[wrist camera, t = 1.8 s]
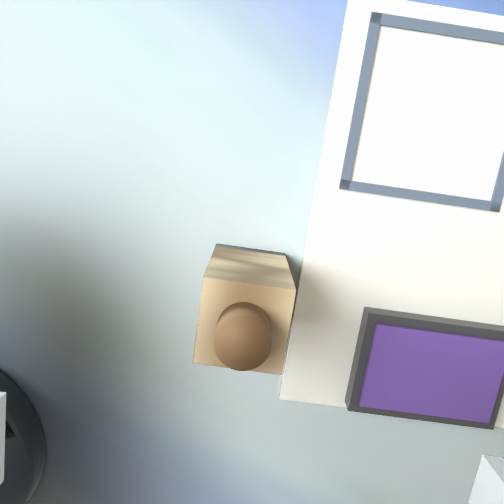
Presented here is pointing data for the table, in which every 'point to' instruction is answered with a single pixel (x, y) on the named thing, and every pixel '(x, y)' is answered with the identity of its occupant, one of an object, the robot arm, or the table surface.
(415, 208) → the sheet
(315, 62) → the table surface
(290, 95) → the table surface
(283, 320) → the stamp
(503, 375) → the ink pad
